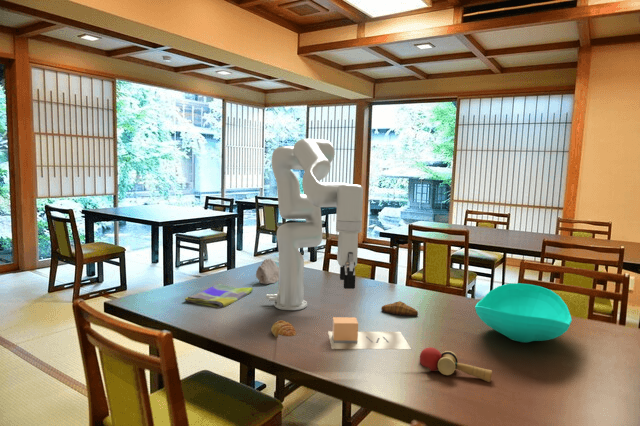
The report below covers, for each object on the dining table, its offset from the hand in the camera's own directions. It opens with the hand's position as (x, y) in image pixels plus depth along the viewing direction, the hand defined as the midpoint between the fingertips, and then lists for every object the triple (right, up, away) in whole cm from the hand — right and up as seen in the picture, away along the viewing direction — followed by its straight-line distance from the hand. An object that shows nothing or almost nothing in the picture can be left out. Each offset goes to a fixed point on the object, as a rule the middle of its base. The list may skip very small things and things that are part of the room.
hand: (347, 283), depth 128 cm
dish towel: (-48, -13, +45) cm, 67 cm away
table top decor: (+56, -19, +11) cm, 61 cm away
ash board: (+6, -19, +2) cm, 20 cm away
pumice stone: (-31, -11, +71) cm, 78 cm away
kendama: (+27, -22, -14) cm, 38 cm away
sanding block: (-1, -17, +2) cm, 17 cm away
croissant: (+21, -17, +31) cm, 41 cm away
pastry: (-19, -18, +8) cm, 27 cm away
